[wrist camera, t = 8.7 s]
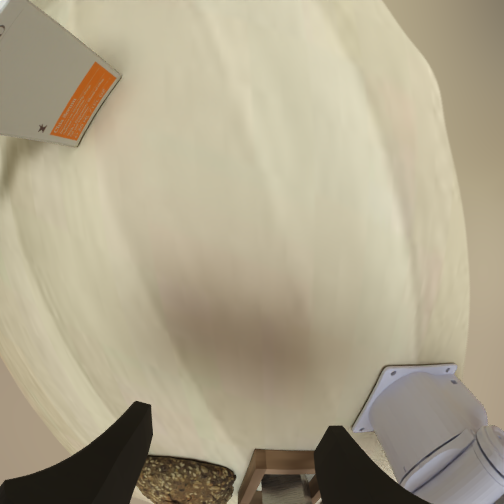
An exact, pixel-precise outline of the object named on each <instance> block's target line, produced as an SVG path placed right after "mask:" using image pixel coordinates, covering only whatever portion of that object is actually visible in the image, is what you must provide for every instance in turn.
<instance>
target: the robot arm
mask: <svg viewBox="0 0 504 504" xmlns="http://www.w3.org/2000/svg"><path fill="white" fill-rule="evenodd" d="M456 369H457V365H456V364H455V363H454V364H440V365H422V366H388V367H386V368H385V369H384V370H383V371H382V373H381V375H380V377H379V379H378V382H377V384H376V386H375V387H374V389H373V391H372V393H371V395H370V397H369V399H368V401H367V403H366V405H365V406H364V408H363V410H362V412H361V413H360V415H359V417H358V419H357V420H356V422H355V424H354V425H353V427H352V431H353V432H354V433H358V432H369V431H375V434H376V436H377V438H378V440H379V442H380V444H381V446H382V449H383V451H384V453H385V455H386V457H387V459H388V462H389V464H390V466H391V468H392V470H393V473H394V475H395V477H396V479H397V482H398V483H397V482H395V481H394V480H393V479H391V478H390V477H389V476H388V475H387V474H386V473H385V472H384V471H382V470H381V469H380V468H379V467H378V466H377V465H376V464H375V463H374V462H373V461H372V460H371V459H370V458H369V456H368V455H367V454H366V453H365V452H364V451H363V450H362V449H361V447H360V446H359V445H358V444H357V443H356V442H355V440H354V439H353V438H352V437H351V436H350V434H349V433H348V432H347V431H346V430H345V428H344V427H343V426H329V427H328V429H327V430H326V432H325V434H324V436H323V438H322V439H321V441H320V443H319V445H318V446H317V448H316V450H315V451H314V465H315V474H316V478H317V482H318V486H319V490H320V494H321V499H322V503H323V504H504V431H503V430H501V429H500V428H498V427H497V426H495V425H489V426H488V425H487V424H488V420H487V413H486V411H485V408H484V406H483V405H482V404H481V402H480V401H479V400H478V399H477V398H476V397H475V396H474V395H473V394H472V393H471V392H470V390H469V389H467V387H466V386H465V385H464V384H463V383H462V382H461V381H460V380H459V379H458V378H457V377H456V376H455V375H454V373H455V371H456ZM393 371H394V372H393ZM152 436H153V429H152V414H151V405H150V404H146V403H143V402H139V401H135V402H134V403H133V404H132V405H131V406H130V407H129V408H128V409H127V411H126V412H125V413H124V414H123V415H122V416H121V417H120V418H119V419H118V420H117V421H116V422H115V423H114V424H113V425H111V426H110V427H109V428H108V429H107V430H106V431H105V432H104V433H103V434H101V435H100V436H99V437H98V438H96V439H95V440H94V441H93V442H91V443H90V444H89V445H87V446H86V447H85V448H83V449H82V450H80V451H79V452H77V453H76V454H74V455H72V456H71V457H69V458H67V459H65V460H64V461H62V462H60V463H58V464H56V465H54V466H51V467H49V468H47V469H44V470H41V471H39V472H36V473H33V474H30V475H26V476H22V477H18V478H13V479H9V480H5V481H4V482H3V484H2V485H1V486H0V504H129V503H130V500H131V497H132V494H133V491H134V488H135V486H136V483H137V481H138V478H139V476H140V473H141V471H142V468H143V466H144V463H145V460H146V458H147V455H148V452H149V448H150V444H151V440H152Z"/></svg>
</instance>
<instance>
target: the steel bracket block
mask: <svg viewBox="0 0 504 504" xmlns="http://www.w3.org/2000/svg"><path fill="white" fill-rule="evenodd" d="M261 483H262V502H263V504H312V499H311V493H310V488H309V483H308V480H307V478H306V476H305V474H264V476H263V478H262V480H261Z"/></svg>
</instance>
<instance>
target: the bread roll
mask: <svg viewBox="0 0 504 504" xmlns="http://www.w3.org/2000/svg"><path fill="white" fill-rule="evenodd" d="M235 480H236V475H234V474H233V472H232V471H230V470H229V469H228V468H225V467H221V466H217V465H213V464H208V463H202V462H197V461H191V460H183V459H176V458H170V457H153V456H147V458H146V460H145V463H144V466H143V468H142V471H141V473H140V476H139V478H138V481H137V483H136V486H137V487H138V488H139V490H140V491H141V492H142V494H143V495H144V496H146V497H147V498H148V499H150V500H151V501H152V502H153V503H155V504H227V502H228V501H229V499H230V498H231V497H232V493H233V490H234V489H233V488H234V487H233V486H232V484H233V483H234V481H235Z"/></svg>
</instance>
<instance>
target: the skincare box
mask: <svg viewBox="0 0 504 504" xmlns="http://www.w3.org/2000/svg"><path fill="white" fill-rule="evenodd" d="M120 78H121V75H120V74H119V73H118V72H117V71H116V70H115V69H113V68H112V67H111V66H110V65H109V64H107V63H106V62H105V61H104V60H103V59H102V58H100V57H99V56H98V55H97V54H96V53H94V52H93V51H92V50H91V49H90V48H88V47H87V46H86V45H85V44H84V43H82V42H81V41H80V40H79V39H77V38H76V37H75V36H74V35H72V34H71V33H70V32H69V31H68V30H66V29H65V28H64V27H62V26H61V25H60V24H59V23H57V22H56V21H55V20H54V19H52V18H51V17H50V16H48V15H47V14H46V13H45V12H43V11H42V10H41V9H39V8H38V7H37V6H35V5H34V4H33V3H31V2H30V1H29V0H0V135H4V136H11V137H17V138H24V139H30V140H36V141H42V142H48V143H53V144H59V145H65V146H70V147H77V146H78V144H79V142H80V140H81V137H82V136H83V134H84V132H85V130H86V129H87V127H88V125H89V124H90V122H91V120H92V118H93V117H94V115H95V114H96V112H97V110H98V109H99V107H100V106H101V104H102V103H103V101H104V100H105V99H106V97H107V96H108V94H109V93H110V91H111V90H112V89H113V87H114V86H115V85H116V83H117V82H118V81H119V79H120Z"/></svg>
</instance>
